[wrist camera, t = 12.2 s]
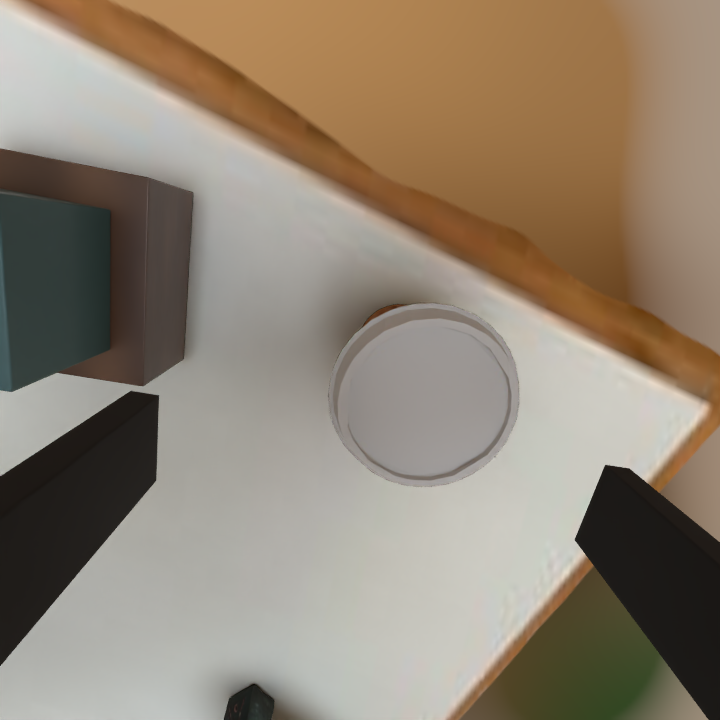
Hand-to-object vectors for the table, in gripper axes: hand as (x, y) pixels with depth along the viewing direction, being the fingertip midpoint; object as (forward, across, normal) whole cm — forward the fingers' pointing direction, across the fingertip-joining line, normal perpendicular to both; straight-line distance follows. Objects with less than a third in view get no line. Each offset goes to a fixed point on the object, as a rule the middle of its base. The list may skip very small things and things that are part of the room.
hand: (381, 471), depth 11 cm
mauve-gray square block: (+19, +19, -2) cm, 27 cm away
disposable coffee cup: (+19, -3, +1) cm, 19 cm away
